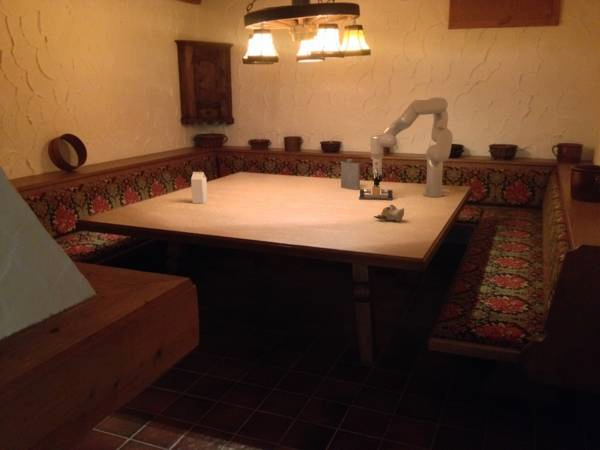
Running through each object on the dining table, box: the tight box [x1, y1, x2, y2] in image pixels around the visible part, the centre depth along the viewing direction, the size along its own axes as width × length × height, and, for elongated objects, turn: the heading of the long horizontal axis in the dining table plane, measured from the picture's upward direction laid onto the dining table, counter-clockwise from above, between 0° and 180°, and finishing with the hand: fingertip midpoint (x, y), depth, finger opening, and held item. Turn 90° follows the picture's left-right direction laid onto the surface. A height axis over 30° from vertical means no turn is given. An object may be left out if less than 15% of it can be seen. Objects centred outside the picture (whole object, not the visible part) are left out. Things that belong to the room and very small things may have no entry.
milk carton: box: [190, 171, 209, 205], centre depth 325 cm, size 7×7×19 cm
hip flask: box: [340, 158, 361, 191], centre depth 358 cm, size 16×4×20 cm, turn 43°
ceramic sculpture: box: [373, 204, 405, 223], centre depth 275 cm, size 11×9×15 cm
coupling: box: [371, 185, 381, 197], centre depth 326 cm, size 4×4×7 cm
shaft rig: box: [358, 188, 394, 201], centre depth 327 cm, size 20×9×6 cm, turn 78°
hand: (377, 183), depth 325 cm, fingers open, 9 cm apart
